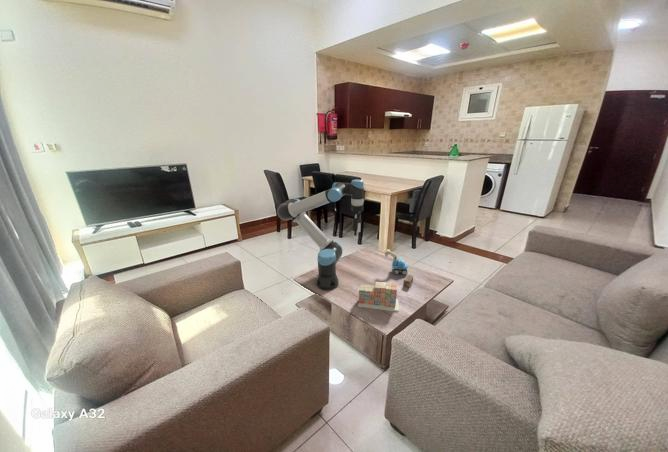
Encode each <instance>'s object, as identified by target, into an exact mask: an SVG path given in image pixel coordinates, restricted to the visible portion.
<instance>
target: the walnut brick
mask: <svg viewBox="0 0 668 452" xmlns="http://www.w3.org/2000/svg"><path fill="white" fill-rule="evenodd" d="M413 282H414V275H412V274H408V273H407V274H406V275H405V278H403V284H402V285H403V288H410V287H411V286H412V284H413Z"/></svg>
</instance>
